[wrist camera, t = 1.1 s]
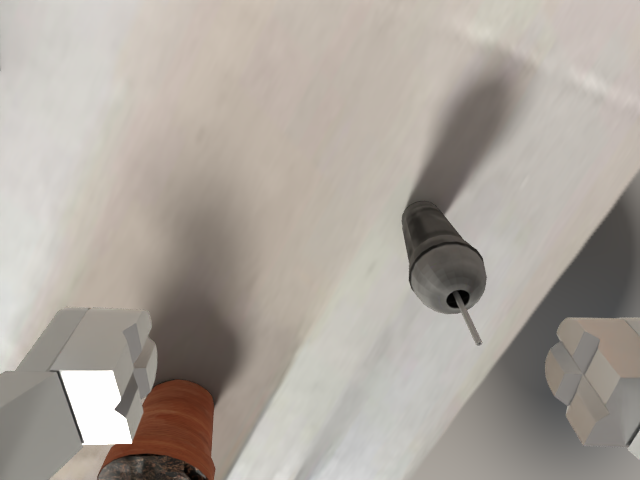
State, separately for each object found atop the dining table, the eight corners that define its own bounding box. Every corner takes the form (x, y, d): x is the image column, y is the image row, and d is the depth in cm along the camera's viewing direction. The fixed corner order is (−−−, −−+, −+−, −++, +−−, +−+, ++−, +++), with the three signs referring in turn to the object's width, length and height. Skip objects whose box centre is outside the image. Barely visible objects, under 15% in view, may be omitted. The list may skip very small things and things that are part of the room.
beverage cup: (438, 179, 51) (504, 284, 34) (460, 228, 55) (531, 346, 37) (379, 207, 53) (415, 322, 36) (404, 253, 56) (448, 378, 39)
